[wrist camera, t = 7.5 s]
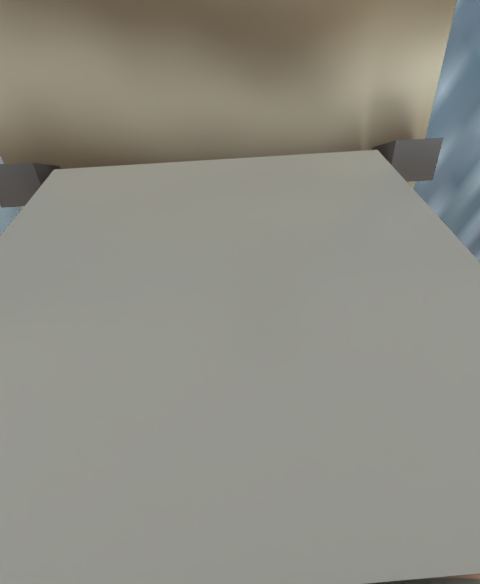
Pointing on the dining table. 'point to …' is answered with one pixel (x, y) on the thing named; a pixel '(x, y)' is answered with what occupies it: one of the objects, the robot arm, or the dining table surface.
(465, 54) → the dining table surface
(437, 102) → the dining table surface
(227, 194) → the tile
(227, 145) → the tile stand
